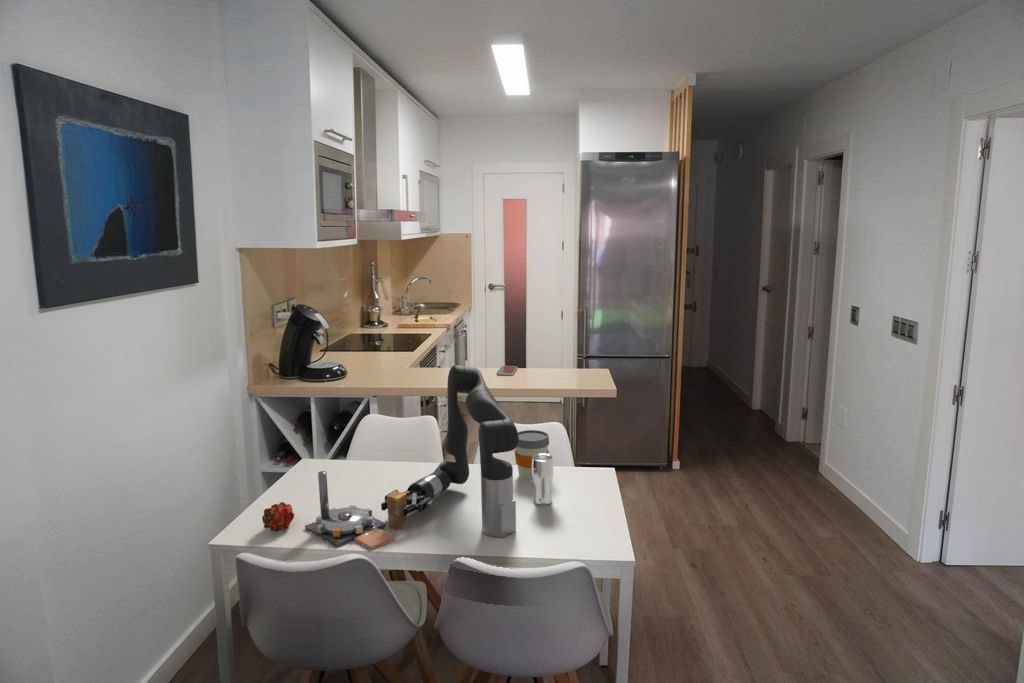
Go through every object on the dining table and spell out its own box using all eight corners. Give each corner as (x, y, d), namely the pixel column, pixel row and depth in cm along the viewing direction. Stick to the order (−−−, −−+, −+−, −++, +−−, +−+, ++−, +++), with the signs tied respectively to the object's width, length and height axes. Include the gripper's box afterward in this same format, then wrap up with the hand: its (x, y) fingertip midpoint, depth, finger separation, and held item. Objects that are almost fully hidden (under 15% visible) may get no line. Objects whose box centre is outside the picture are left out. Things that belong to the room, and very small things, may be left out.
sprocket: (380, 511, 210) (378, 462, 207) (366, 537, 194) (363, 484, 191) (326, 511, 211) (323, 462, 208) (307, 536, 195) (303, 483, 192)
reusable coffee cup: (535, 485, 232) (535, 443, 230) (506, 477, 240) (506, 436, 237) (556, 474, 242) (556, 434, 239) (527, 466, 250) (527, 427, 247)
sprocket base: (386, 526, 203) (386, 523, 203) (337, 547, 191) (336, 543, 191) (353, 510, 215) (353, 507, 214) (305, 528, 202) (304, 525, 202)
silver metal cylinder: (528, 503, 218) (527, 459, 215) (537, 495, 224) (537, 452, 221) (548, 507, 215) (547, 462, 212) (557, 499, 221) (557, 455, 218)
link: (407, 524, 204) (406, 493, 202) (399, 530, 201) (398, 498, 199) (396, 522, 206) (395, 491, 204) (388, 527, 203) (386, 496, 201)
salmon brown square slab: (394, 539, 195) (394, 536, 195) (371, 549, 189) (371, 546, 189) (377, 531, 200) (377, 528, 200) (354, 540, 195) (354, 537, 194)
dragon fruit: (265, 543, 197) (287, 530, 209) (286, 528, 196) (308, 516, 207) (250, 518, 198) (273, 506, 210) (271, 503, 196) (293, 492, 208)
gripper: (406, 475, 217) (373, 493, 203) (443, 482, 211) (412, 502, 196) (407, 497, 219) (374, 517, 204) (444, 505, 212) (413, 526, 198)
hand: (393, 510), depth 200 cm, fingers open, 7 cm apart
